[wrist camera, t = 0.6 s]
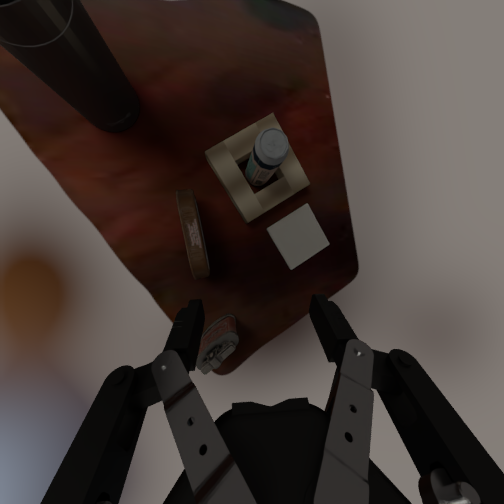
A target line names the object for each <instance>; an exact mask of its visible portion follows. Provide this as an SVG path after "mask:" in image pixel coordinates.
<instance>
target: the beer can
mask: <svg viewBox="0 0 504 504" xmlns="http://www.w3.org/2000/svg"><path fill="white" fill-rule="evenodd" d="M288 152H289V144H288V138H287V137H286V135H285V134H284V133H283V131H282V130H280V129H277V128H273V127H272V128H268V129H265V130H263V131H262V132H260V133H259V135H258V136H257V138H256V141H255V144H254V147H253V150H252V152H251V155H250V158H249V161H248V164H247V167H246V170H245V175H246V178H247V180H248V181H249V182H250V183H251V184H252V185H254V186H262V185H264V184H265V183H266V182H267V181H268V180H269V179H270V177H271V176H272V175H273V174H274V172H275V171H276V170H277V169H278V167H279V166H280V165H281V164H282V162H283V161H284V160H285V159H286V157H287V155H288Z"/></svg>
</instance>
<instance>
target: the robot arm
mask: <svg viewBox="0 0 504 504" xmlns="http://www.w3.org/2000/svg"><path fill="white" fill-rule="evenodd" d="M0 45H1V46H2V47H4V48H5V49H6V50H7V51H8V52H9V53H11V54H12V55H13V56H14V57H15V58H16V59H18V60H19V61H20V62H21V63H22V64H23V65H25V66H26V67H27V68H28V69H29V70H30V71H31V72H33V73H34V74H35V75H36V76H37V77H38V78H40V79H41V80H42V81H43V82H44V83H45V84H47V85H48V86H49V87H50V88H51V89H52V90H53V91H55V92H56V93H57V94H58V95H59V96H60V97H62V98H63V99H64V100H65V101H66V102H67V103H69V104H70V105H71V106H72V107H73V108H74V109H75V110H77V111H78V112H79V113H80V114H81V115H82V116H83V117H85V118H86V119H87V120H88V121H89V122H90V123H92V124H93V125H95V126H96V127H98V128H100V129H102V130H105V131H109V132H118V131H123V130H125V129H127V128H129V127H130V126H132V125H133V124H134V122H135V121H136V119H137V117H138V114H139V100H138V97H137V95H136V92H135V91H134V89H133V87H132V86H131V84H130V82H129V81H128V79H127V78H126V76H125V74H124V72H123V71H122V69H121V67H120V66H119V64H118V62H117V61H116V59H115V57H114V56H113V54H112V52H111V51H110V49H109V48H108V46H107V44H106V43H105V41H104V39H103V38H102V36H101V34H100V33H99V31H98V29H97V28H96V26H95V24H94V23H93V21H92V19H91V18H90V16H89V15H88V13H87V11H86V10H85V8H84V6H83V5H82V3H81V1H80V0H0ZM309 314H310V318H311V320H312V323H313V325H314V328H315V330H316V332H317V335H318V337H319V340H320V342H321V344H322V347H323V349H324V352H325V354H326V357H327V359H328V361H329V362H335V363H336V365H337V368H336V372H335V375H334V379H333V383H332V387H331V392H330V395H329V398H328V402H327V405H326V408H325V411H323V410H322V409H320V408H319V407H317V406H315V405H312V404H309V402H308V398H295V399H288V400H285V401H283V402H281V403H278V404H276V405H274V406H266V405H262V404H258V403H254V402H240V403H232V409H231V410H229V411H227V412H225V413H223V414H222V415H221V416H220V417H219V418H218V419H217V420H216V421H215V422H214V421H213V419H212V417H211V416H210V413H209V412H208V410H207V408H206V406H205V404H204V402H203V400H202V398H201V396H200V394H199V392H198V390H197V388H196V386H195V385H194V383H193V382H192V381H191V379H190V377H189V371H195V367H196V362H197V357H198V352H199V347H200V342H201V337H202V332H203V327H204V321H205V314H204V309H203V304H202V300H201V299H197V300H190V301H189V304H188V307H187V308H182V309H181V310H180V311H179V312H178V313H177V315H176V318H175V321H174V323H173V326H172V329H171V331H170V334H169V337H168V340H167V342H166V345H165V347H164V350H163V352H162V353H161V354H159V355H158V356H157V357H156V358H155V360H154V361H153V362H151V363H149V364H147V365H144V366H141V367H138V368H136V369H133V367H131V366H128V365H126V366H121V367H119V368H117V369H115V370H114V371H113V372H111V373H110V374H109V375H108V376H107V378H106V379H105V381H104V383H103V385H102V386H101V388H100V391H99V392H98V394H97V396H96V398H95V400H94V402H93V404H92V406H91V408H90V410H89V412H88V413H87V415H86V417H85V419H84V421H83V423H82V425H81V427H80V429H79V431H78V433H77V434H76V437H75V438H74V440H73V442H72V444H71V446H70V448H69V450H68V452H67V454H66V456H65V457H64V459H63V461H62V463H61V465H60V467H59V469H58V471H57V473H56V475H55V477H54V479H53V480H52V482H51V484H50V486H49V488H48V490H47V492H46V494H45V496H44V498H43V500H42V502H41V504H118V503H119V500H120V497H121V494H122V490H123V487H124V484H125V480H126V477H127V474H128V470H129V467H130V464H131V460H132V457H133V454H134V451H135V447H136V444H137V441H138V437H139V434H140V431H141V427H142V424H143V421H144V418H145V414H146V411H147V408H148V406H151V405H153V404H155V403H157V402H160V401H163V404H164V410H165V413H166V416H167V419H168V422H169V425H170V428H171V430H172V433H173V436H174V439H175V442H176V445H177V448H178V450H179V453H180V456H181V459H182V462H183V464H184V468H185V469H184V470H183V472H182V474H181V475H180V477H179V478H178V480H177V482H176V483H175V485H174V487H173V488H172V490H171V491H170V493H169V494H168V496H167V498H166V499H165V501H164V503H163V504H411V502H410V501H409V500H408V499H407V498H406V497H405V496H404V495H403V494H402V493H401V492H400V491H399V490H398V488H397V487H396V486H395V485H394V484H393V483H392V482H391V481H390V480H389V479H388V478H387V477H386V476H385V475H384V473H383V472H382V471H381V470H380V469H379V468H378V467H377V466H376V465H375V464H374V463H373V461H372V460H371V459H370V458H369V453H370V440H371V426H372V413H373V401H374V393H373V391H372V390H371V388H373V389H376V390H377V392H378V393H379V395H380V397H381V400H382V401H383V403H384V405H385V407H386V409H387V411H388V413H389V415H390V417H391V419H392V421H393V423H394V425H395V427H396V429H397V431H398V433H399V434H400V437H401V438H402V441H403V443H404V444H405V446H406V449H407V450H408V452H409V454H410V456H411V458H412V460H413V462H414V464H415V466H416V468H417V470H418V472H419V474H420V476H421V477H420V479H419V482H418V483H419V484H418V487H419V492H420V496H421V498H422V502H423V504H504V474H503V472H502V471H501V469H500V468H499V467H498V466H497V464H496V463H495V462H494V460H493V459H492V458H491V457H490V455H489V454H488V453H487V451H486V450H485V449H484V447H483V446H482V445H481V443H480V442H479V441H478V440H477V438H476V437H475V436H474V435H473V433H472V432H471V430H470V429H469V428H468V427H467V425H466V424H465V423H464V422H463V420H462V419H461V417H460V416H459V415H458V414H457V412H456V411H455V410H454V408H453V407H452V406H451V404H450V403H449V402H448V401H447V399H446V398H445V397H444V395H443V394H442V393H441V391H440V390H439V389H438V387H437V386H436V385H435V384H434V382H433V381H432V380H431V378H430V377H429V376H428V374H427V373H426V372H425V371H424V369H423V368H422V367H421V365H420V364H419V363H418V361H417V360H416V359H415V358H414V357H413V356H412V355H410V354H409V353H407V352H405V351H403V350H400V349H393V350H391V351H390V352H389V353H385V352H380V351H376V350H373V349H371V348H370V347H369V346H368V345H367V344H366V343H364V342H362V341H360V340H359V339H358V338H357V336H356V335H355V333H354V331H353V330H352V328H351V327H350V325H349V323H348V321H347V320H346V319H345V317H344V315H343V314H342V312H341V310H340V309H339V307H338V306H337V305H336V304H335V303H334V302H333V301H328V300H327V298H326V296H325V295H324V294H313V295H312V299H311V303H310V308H309Z"/></svg>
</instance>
